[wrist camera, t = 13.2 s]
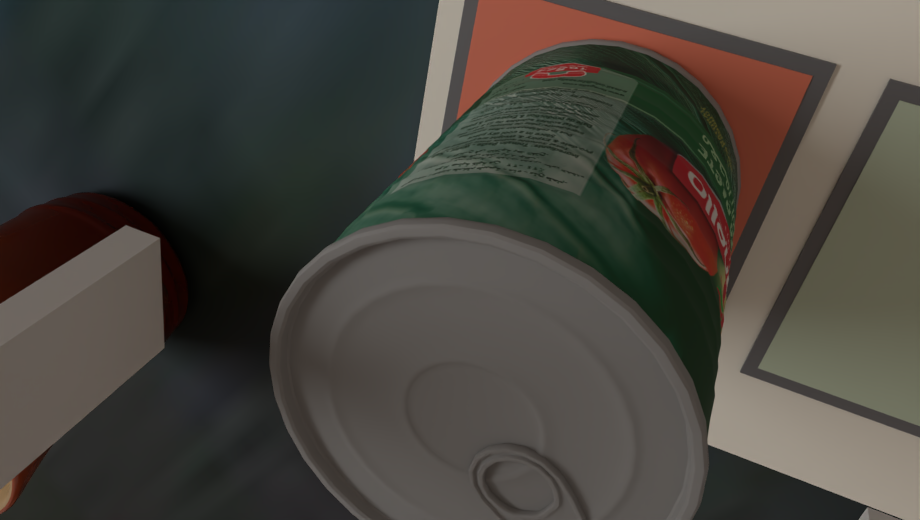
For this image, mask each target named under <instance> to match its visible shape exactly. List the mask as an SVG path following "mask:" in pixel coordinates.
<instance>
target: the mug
mask: <svg viewBox="0 0 920 520" xmlns="http://www.w3.org/2000/svg"><path fill="white" fill-rule="evenodd" d="M126 225H127V226H129V227H132V228H135V229H137V230H140V231H142V232H145V233H148V234H150V235H153V236H156V237H158V238H160V251H161V275H162V299H163V324H164V343H165V342H166V340H167V339H168V338H169V337H170V335H171V334H172V333H173V331H174V330H175V329H176V328H177V327H178V326H179V325H180V323H181V322H182V320H183V318H184V316H185V313H186V310H187V305H188V284H187V278H186V275H185V272H184V269H183V267H182V265H181V262H180V260H179V258H178V256H177V254H176V252H175V250H174V248H173V247H172V245H171V244H170V242H169V241H168V239H167V238H166V237H165V235H164V234H163V233H162V232H161V230H160V229H159V228H158V227H157V226H156V225H155V224H154V223H153V222H152V221H151V220H149V219H148V218H147V217H145V216H144V215H143V214H141V213H140V212H139V211H137V210H136V209H134V208H133V207H131V206H129V205H127V204H126V203H124V202H122V201H120V200H118V199H115V198H113V197H110V196H107V195H103V194H98V193H90V192H84V193H76V194H72V195H69V196H67V197H62V198H57V199H53V200H50V201H48V202H46V203H44V204H40V205H36V206H33V207H30V208H28V209H26V210H25V211H23V212H22V213H20V214H19V215H18V216H17V217H15V218H13V219H11V220H9V221H7V222H6V223H4V224H2V225H0V304H1V303H2V302H4V301H6V300H7V299H9V298H10V297H12V296H14V295H15V294H17V293H18V292H20V291H22V290H23V289H25V288H26V287H28V286H30V285H31V284H33V283H34V282H36V281H38V280H39V279H41V278H42V277H44V276H46V275H47V274H49V273H50V272H52V271H54V270H55V269H57V268H58V267H60V266H62V265H63V264H65V263H66V262H68V261H70V260H71V259H73V258H75V257H76V256H78V255H79V254H81V253H83V252H84V251H86V250H87V249H89V248H91V247H92V246H94V245H95V244H97V243H99V242H100V241H102V240H103V239H105V238H107V237H108V236H110V235H111V234H113V233H115V232H116V231H118V230H119V229H121V228H123V227H124V226H126ZM51 447H52V445H51V446H50V447H49V448H48V449H47V450H46V451H44V452H43V453H42V454H41V455H40V456H39V457H37V458H36V459H35V460H34V461H33V462H32V463H31V464H29V465H28V466H27V467H26V468H25V469H24V470H22V471H21V472H20V473H19V474H18V475H17V476H15V477H14V478H13V479H12V480H11V481H10V482H9V483H7V484H6V485H5V486H4V487H3V488H2V489H0V514H2V513H4V512H5V511H7V510H8V509H9V508H11V507H12V506H13V504H14V503H15V502H16V500H17V499H18V498H19V496H20V495H21V493H22V492H23V490H24V488H25V487H26V485H27V483H28V482H29V480H30V478H31V477H32V475H33V474H34V472H35V470H36V469H37V467H38V466H39V464H40V463H41V461H42V460H43V458H44V457H45V455H46V454H47V452H48V451H49V449H50V448H51Z"/></svg>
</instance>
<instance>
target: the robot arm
mask: <svg viewBox="0 0 920 520" xmlns="http://www.w3.org/2000/svg"><path fill="white" fill-rule="evenodd" d="M163 349H164V324H163V299H162V275H161V251H160V238H158V237H156V236H153V235H150V234H148V233H145V232H142V231H140V230H137V229H135V228H132V227H129V226H127V225H126V226H124V227H123V228H121V229H119V230H118V231H116V232H115V233H113V234H111V235H110V236H108V237H107V238H105V239H103V240H102V241H100V242H99V243H97V244H95V245H94V246H92V247H91V248H89V249H87V250H86V251H84V252H83V253H81V254H79V255H78V256H76V257H75V258H73V259H71V260H70V261H68V262H66V263H65V264H63V265H62V266H60V267H58V268H57V269H55V270H54V271H52V272H50V273H49V274H47V275H46V276H44V277H42V278H41V279H39V280H38V281H36V282H34V283H33V284H31V285H30V286H28V287H26V288H25V289H23V290H22V291H20V292H18V293H17V294H15V295H14V296H12V297H10V298H9V299H7V300H6V301H4V302H2V303H1V304H0V489H2V488H3V487H4V486H5V485H6V484H7V483H9V482H10V481H11V480H12V479H13V478H14V477H15V476H17V475H18V474H19V473H20V472H21V471H22V470H24V469H25V468H26V467H27V466H28V465H29V464H31V463H32V462H33V461H34V460H35V459H36V458H37V457H39V456H40V455H41V454H42V453H43V452H44V451H46V450H47V449H48V448H49V447H50V446H51V445H53V444H54V443H55V442H56V441H57V440H58V439H59V438H61V437H62V436H63V435H64V434H65V433H66V432H68V431H69V430H70V429H71V428H72V427H73V426H75V425H76V424H77V423H78V422H79V421H80V420H81V419H83V418H84V417H85V416H86V415H87V414H88V413H90V412H91V411H92V410H93V409H94V408H95V407H97V406H98V405H99V404H100V403H101V402H102V401H103V400H105V399H106V398H107V397H108V396H109V395H110V394H112V393H113V392H114V391H115V390H116V389H117V388H119V387H120V386H121V385H122V384H123V383H124V382H125V381H127V380H128V379H129V378H130V377H131V376H132V375H134V374H135V373H136V372H137V371H138V370H139V369H141V368H142V367H143V366H144V365H145V364H146V363H147V362H149V361H150V360H151V359H152V358H153V357H154V356H156V355H157V354H158V353H159V352H160V351H161V350H163ZM859 520H900V519H897V518H894V517H892V516H889V515H886V514H884V513H881V512H879V511H876V510H873V509H871V508H868V507H867V509H866V510H865V512H864V513H863V514H862V516H861V517H860V518H859Z"/></svg>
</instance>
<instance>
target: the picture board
mask: <svg viewBox="0 0 920 520" xmlns="http://www.w3.org/2000/svg"><path fill="white" fill-rule="evenodd" d="M585 39H601V40H614V41H623V42H626V43H630V44H633V45H637V46H640V47H644V48H647V49H650V50H652V51H654V52H656V53H658V54H660V55H662V56H664V57H666V58H668V59H670V60H672V61H674V62H676V63H677V64H679V65H680V66H681V67H682V68H684V69H685V70H686V71H687V72H689V73H690V74H691V75H692V76H694V77H695V78H696V79H697V80H699V81H700V82H701V83H702V85H703V86H704V87H705V88H706V89H707V91H708V92H709V93H710V94H711V95H712V97H713V98H714V99H715V100H716V102H717V103H718V104H719V105H720V107H721V109H722V111H723V113H724V115H725V117H726V119H727V121H728V123H729V125H730V127H731V129H732V131H733V134H734V138H735V142H736V146H737V149H738V153H739V157H740V173H741V189H740V194H739V199H738V205H737V210H736V220H735V231H734V236H733V247H732V252H731V264H730V269H729V281H728V286H727V291H726V304H725V309H724V323H723V328H722V333H721V347H720V352H719V357H718V372H717V377H716V382H715V399H714V404H713V409H712V413H711V418H710V424H709V431H708V439H707V441H708V445H711V446H714V447H716V448H719V449H721V450H724V451H727V452H729V453H732V454H734V455H737V456H740V457H742V458H745V459H747V460H750V461H753V462H755V463H758V464H760V465H763V466H766V467H768V468H771V469H773V470H776V471H779V472H781V473H784V474H787V475H789V476H792V477H794V478H797V479H800V480H802V481H805V482H807V483H810V484H813V485H815V486H818V487H820V488H823V489H826V490H828V491H831V492H833V493H836V494H839V495H841V496H844V497H846V498H849V499H852V500H854V501H857V502H859V503H862V504H865V505H867V506H870V507H873V508H875V509H878V510H880V511H883V512H886V513H888V514H891V515H893V516H896V517H899V518H901V519H904V520H920V0H439V6H438V12H437V19H436V25H435V31H434V38H433V44H432V50H431V57H430V63H429V69H428V76H427V82H426V88H425V95H424V101H423V107H422V114H421V120H420V126H419V133H418V139H417V145H416V152H415V158H414V161H415V160H416V159H417V158H419V157H420V156H421V155H422V154H423V153H424V152H425V151H426V150H427V149H428V148H429V147H430V146H431V145H432V144H433V143H434V142H435V141H436V140H437V139H438V138H439V137H440V136H441V135H442V134H443V133H444V132H445V131H446V130H447V129H449V128H450V127H451V125H452V124H453V123H454V122H455V121H456V120H458V119H459V118H460V117H461V116H462V114H463V113H464V112H466V111H467V110H468V109H469V108H470V107H471V106H472V105H473V104H474V103H475V102H476V101H477V100H478V99H479V98H480V97H481V96H482V95H483V94H485V93H486V92H487V91H488V89H489V88H490V86H491V85H492V83H493V82H494V81H496V80H497V79H498V78H499V77H500V76H501V75H502V74H503V73H504V72H505V71H506V70H508V69H509V68H510V67H511V66H512V65H514V64H515V63H517V62H519V61H520V60H522V59H524V58H526V57H527V56H529V55H531V54H532V53H534V52H536V51H538V50H541V49H544V48H547V47H550V46H553V45H556V44H559V43H562V42H569V41H577V40H585Z"/></svg>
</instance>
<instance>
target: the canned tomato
mask: <svg viewBox="0 0 920 520" xmlns="http://www.w3.org/2000/svg"><path fill="white" fill-rule="evenodd" d="M740 189H741V173H740V157H739V153H738V149H737V146H736V142H735V138H734V134H733V131H732V129H731V127H730V125H729V123H728V121H727V119H726V117H725V115H724V113H723V111H722V109H721V107H720V105H719V104H718V103H717V102H716V100H715V99H714V98H713V97H712V95H711V94H710V93H709V92H708V91H707V89H706V88H705V87H704V86H703V85H702V83H701V82H700V81H699V80H697V79H696V78H695V77H694V76H692V75H691V74H690V73H689V72H687V71H686V70H685V69H684V68H682V67H681V66H680V65H679V64H677V63H676V62H674V61H672V60H670V59H668V58H666V57H664V56H662V55H660V54H658V53H656V52H654V51H652V50H650V49H647V48H644V47H640V46H637V45H633V44H630V43H626V42H623V41H614V40H601V39H585V40H577V41H569V42H562V43H559V44H556V45H553V46H550V47H547V48H544V49H541V50H538V51H536V52H534V53H532V54H531V55H529V56H527V57H526V58H524V59H522V60H520V61H519V62H517V63H515V64H514V65H512V66H511V67H510V68H509V69H508V70H506V71H505V72H504V73H503V74H502V75H501V76H500V77H499V78H498V79H497V80H496V81H494V82H493V83H492V85H491V86H490V88H489V89H488V91H487V92H486V93H485V94H483V95H482V96H481V97H480V98H479V99H478V100H477V101H476V102H475V103H474V104H473V105H472V106H471V107H470V108H469V109H468V110H467V111H466V112H464V113H463V114H462V116H461V117H460V118H459V119H458V120H456V121H455V122H454V123H453V124H452V125H451V127H450V128H449V129H447V130H446V131H445V132H444V133H443V134H442V135H441V136H440V137H439V138H438V139H437V140H436V141H435V142H434V143H433V144H432V145H431V146H430V147H429V148H428V149H427V150H426V151H425V152H424V153H423V154H422V155H421V156H420V157H419V158H417V159H416V160H415V161H414V162H413V164H412V165H411V166H410V167H409V168H408V169H406V170H405V171H404V172H403V173H402V174H401V175H400V176H399V177H398V179H397V180H396V181H394V182H393V183H392V184H391V185H390V186H389V187H388V188H387V189H386V190H385V191H384V192H383V193H382V194H381V195H380V196H379V197H378V198H377V199H376V200H375V201H374V202H373V203H372V204H370V205H369V206H368V207H367V208H366V210H365V211H364V212H363V213H362V214H361V215H360V216H359V217H358V218H357V219H355V220H354V221H353V222H352V223H351V224H350V225H349V226H348V227H347V228H346V229H345V230H344V232H343V233H342V234H341V235H340V236H339V238H338V239H337V240H336V241H335V242H334V243H333V244H331V245H329V246H327V247H326V248H324V249H323V250H322V251H321V252H320V253H319V254H318V255H317V256H316V257H315V258H313V259H312V260H311V261H310V262H309V263H308V264H307V265H306V266H305V267H303V268H302V269H301V270H300V271H299V273H298V274H297V276H296V277H295V279H294V280H293V282H292V283H291V285H290V287H289V288H288V290H287V291H286V293H285V295H284V296H283V298H282V299H281V301H280V303H279V306H278V310H277V313H276V316H275V320H274V323H273V326H272V329H271V337H270V358H269V365H270V371H271V377H272V383H273V389H274V395H275V399H276V401H277V404H278V407H279V409H280V412H281V415H282V417H283V420H284V423H285V426H286V428H287V430H288V432H289V434H290V436H291V437H292V439H293V441H294V443H295V444H296V446H297V448H298V450H299V451H300V453H301V455H302V457H303V458H304V460H305V461H306V463H307V464H308V465H309V467H310V468H311V469H312V470H313V472H314V473H315V474H316V476H317V477H318V478H319V479H320V481H321V482H322V483H323V485H324V486H325V487H326V488H327V489H328V490H329V491H330V492H331V493H332V494H333V495H334V496H335V497H336V498H337V499H338V500H339V501H340V502H341V503H342V504H343V505H344V506H345V507H346V508H347V509H348V510H349V511H350V512H351V513H352V514H353V515H354V516H356V517H357V518H358V519H359V520H692V519H693V517H694V515H695V513H696V512H697V510H698V508H699V506H700V504H701V501H702V496H703V491H704V487H705V482H706V477H707V473H708V468H709V456H708V441H707V439H708V431H709V424H710V418H711V413H712V409H713V404H714V399H715V382H716V377H717V372H718V357H719V352H720V347H721V333H722V328H723V323H724V309H725V304H726V291H727V286H728V281H729V269H730V264H731V252H732V247H733V236H734V231H735V220H736V210H737V205H738V199H739V194H740Z"/></svg>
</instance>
